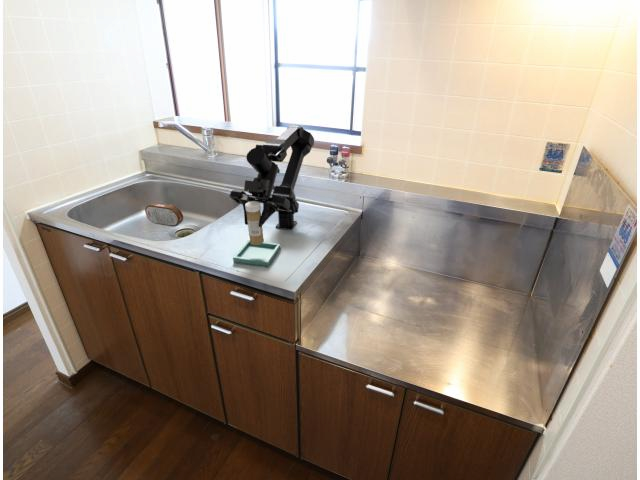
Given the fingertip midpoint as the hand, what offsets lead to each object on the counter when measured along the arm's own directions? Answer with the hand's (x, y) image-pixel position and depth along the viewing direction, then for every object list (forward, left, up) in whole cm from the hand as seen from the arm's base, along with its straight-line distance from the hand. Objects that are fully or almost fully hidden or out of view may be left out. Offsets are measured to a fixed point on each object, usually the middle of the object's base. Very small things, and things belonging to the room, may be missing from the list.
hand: (252, 225), depth 114 cm
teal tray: (-1, 0, -12) cm, 12 cm away
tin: (-14, -43, -12) cm, 47 cm away
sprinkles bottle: (-1, 0, -7) cm, 7 cm away
